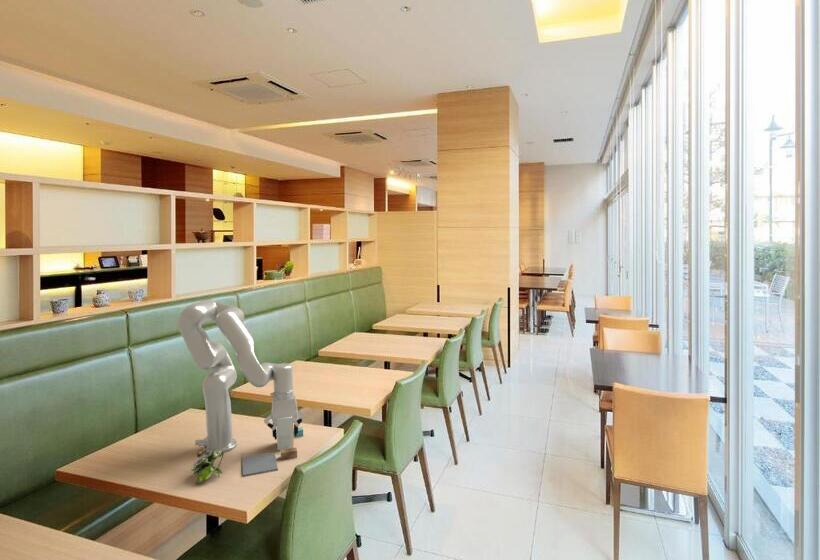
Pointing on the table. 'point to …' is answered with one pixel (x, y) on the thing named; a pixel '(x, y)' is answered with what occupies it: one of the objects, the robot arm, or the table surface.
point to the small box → (285, 433)
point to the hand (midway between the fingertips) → (285, 436)
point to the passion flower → (206, 465)
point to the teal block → (299, 432)
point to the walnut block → (288, 453)
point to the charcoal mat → (259, 464)
